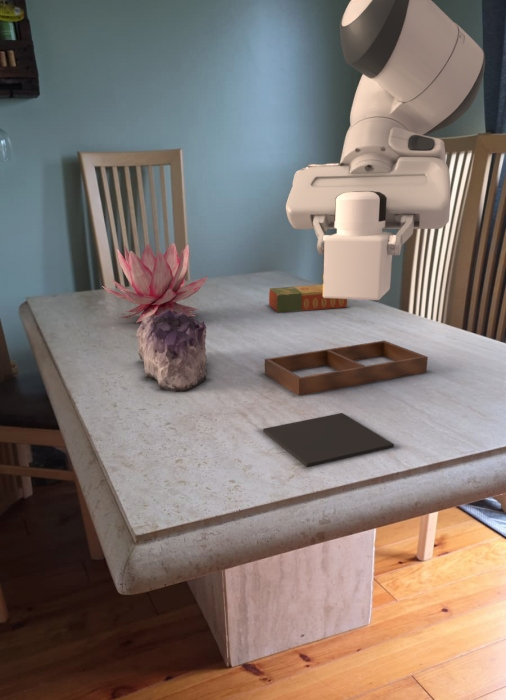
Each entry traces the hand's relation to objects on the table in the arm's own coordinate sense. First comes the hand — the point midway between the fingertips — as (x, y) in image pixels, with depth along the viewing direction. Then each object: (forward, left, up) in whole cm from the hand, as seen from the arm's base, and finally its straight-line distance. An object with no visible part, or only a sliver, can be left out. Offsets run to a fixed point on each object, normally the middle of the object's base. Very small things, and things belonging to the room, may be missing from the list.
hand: (358, 251), depth 76 cm
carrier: (-6, -11, -19) cm, 23 cm away
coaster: (+10, +10, -19) cm, 24 cm away
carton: (-24, -57, -19) cm, 65 cm away
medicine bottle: (0, 0, -5) cm, 5 cm away
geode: (+17, -24, -19) cm, 35 cm away
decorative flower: (+9, -62, -19) cm, 66 cm away
